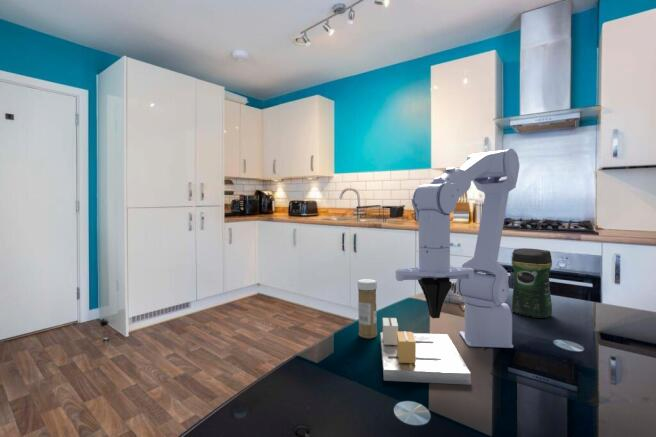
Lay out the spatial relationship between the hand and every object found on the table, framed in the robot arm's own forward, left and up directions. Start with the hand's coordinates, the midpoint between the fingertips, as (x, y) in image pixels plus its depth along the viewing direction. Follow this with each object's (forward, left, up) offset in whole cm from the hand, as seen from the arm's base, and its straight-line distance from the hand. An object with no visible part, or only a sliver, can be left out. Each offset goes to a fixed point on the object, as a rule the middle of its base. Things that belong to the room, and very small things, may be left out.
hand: (434, 316), depth 66 cm
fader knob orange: (+6, +1, -8) cm, 10 cm away
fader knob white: (+8, -7, -8) cm, 13 cm away
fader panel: (+3, -3, -10) cm, 10 cm away
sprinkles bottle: (+13, -15, -10) cm, 22 cm away
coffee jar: (-33, -35, -10) cm, 49 cm away
